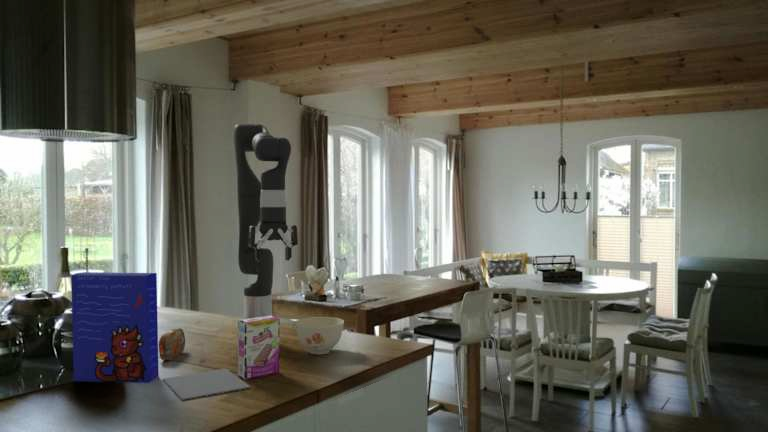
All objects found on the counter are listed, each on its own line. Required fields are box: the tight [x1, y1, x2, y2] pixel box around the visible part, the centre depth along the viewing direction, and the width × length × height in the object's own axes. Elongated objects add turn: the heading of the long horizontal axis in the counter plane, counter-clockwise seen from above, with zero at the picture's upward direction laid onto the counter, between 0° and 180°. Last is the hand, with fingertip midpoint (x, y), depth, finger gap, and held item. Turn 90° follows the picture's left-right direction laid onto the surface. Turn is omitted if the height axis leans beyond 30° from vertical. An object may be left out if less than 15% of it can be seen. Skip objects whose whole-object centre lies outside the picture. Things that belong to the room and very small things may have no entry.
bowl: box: [294, 316, 345, 355], centre depth 202 cm, size 16×16×10 cm
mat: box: [162, 368, 251, 401], centre depth 169 cm, size 18×20×1 cm
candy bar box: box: [237, 315, 281, 381], centre depth 177 cm, size 11×5×16 cm, turn 130°
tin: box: [158, 328, 186, 361], centre depth 197 cm, size 15×3×8 cm, turn 176°
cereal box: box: [70, 271, 160, 384], centre depth 174 cm, size 22×6×30 cm, turn 84°
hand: (273, 260), depth 181 cm, fingers open, 8 cm apart
